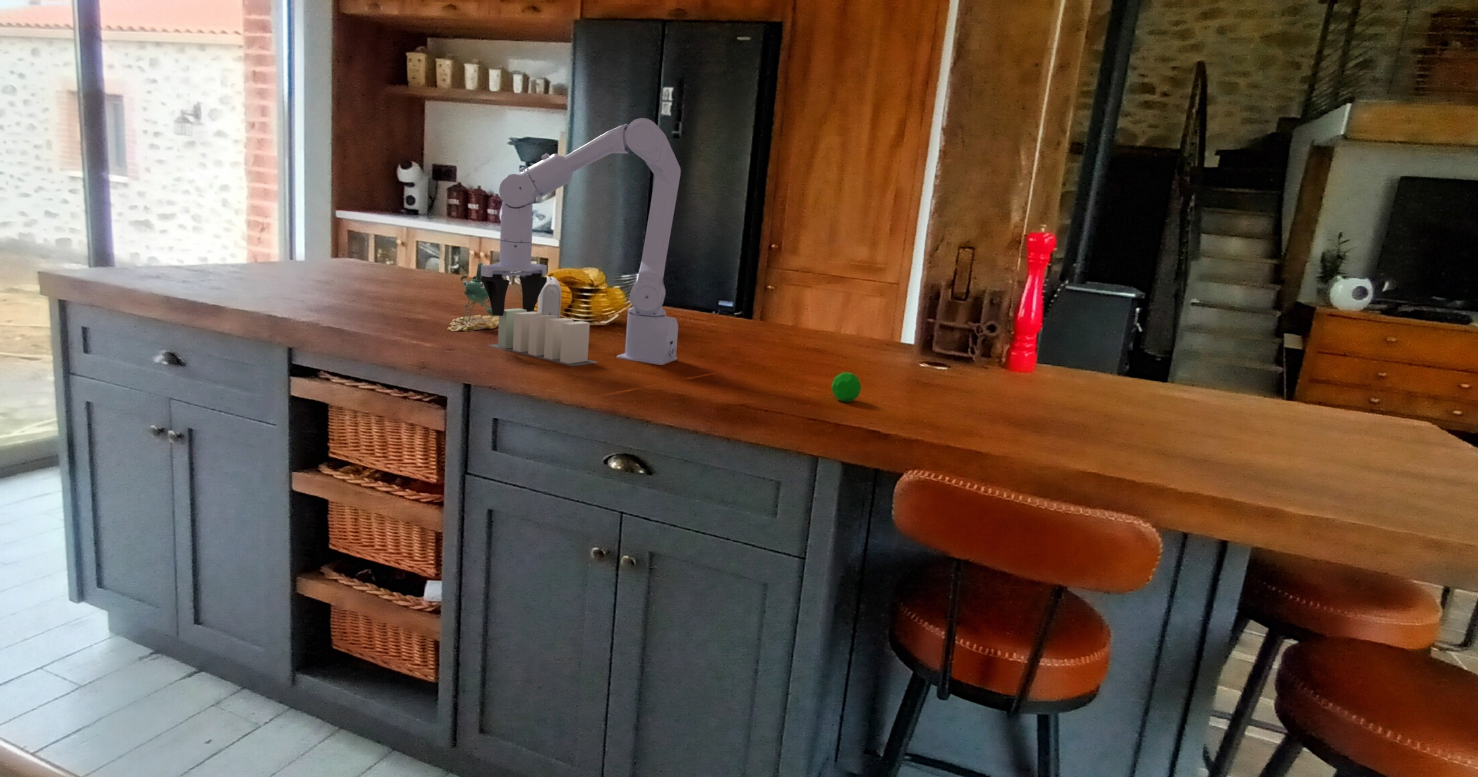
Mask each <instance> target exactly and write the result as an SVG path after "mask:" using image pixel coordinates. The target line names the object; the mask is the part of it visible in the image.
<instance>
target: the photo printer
mask: <svg viewBox="0 0 1478 777" xmlns="http://www.w3.org/2000/svg"><path fill="white" fill-rule="evenodd" d="M545 277H547V283H546V284H545V285H544V287H543V288H542V290H541V292H540V294H539V297H538V299H537V312H539V313H542V315H554V316H557V319H559V318H561V307H562V306H561V305H562V286H561V284H560V282H559V280H558V279H557V278H556V277H554V276H548V275H545Z"/></svg>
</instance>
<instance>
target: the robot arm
mask: <svg viewBox="0 0 1478 777" xmlns="http://www.w3.org/2000/svg"><path fill="white" fill-rule="evenodd" d="M628 148H629V149H630V150H631V151H632V153H634V154H635V155H637V156H638V157H639V158H641V159H642V160H643V161H644V162H645V164H646V165H647V167H648V168H649V170H651V172H652V173H653V175H654V183H653V189H652V193H651V194H652V195H651V199H650V200H651V201H650V207H649V213H648V218H647V219H648V220H647V225H646V232H645V238H644V244H643V249H642V256H641V262H640V266H639V271H638V275H637V276H638V278H637V280H636V281H635V283H634V285H633V286H632V288H631V289H630V293H629V300H630V304H631V306H632V307H630V308H627V318H626V320H627V321H626V334H625V335H626V336H625V348H624V353H622V354H618V355H616V359H621V360H626V361H634V362H640V363H646V364H652V365H658V366H659V365H660V366H663V365H666V364H669V363H671V362H673V361H677V359H678V357H677V347H678V337H679V336H678V334H679V323H678V320H677V318H676V317H672V316H668V315H666V314H667V311H666V310H665V309H664V308H663V307H662V306H663V305H664V301H665V298H666V288H665V284H664V276H665V269H666V262H667V255H668V250H669V244H670V237H671V233H672V232H671V231H672V226H673V220H674V215H675V214H674V213H675V209H676V202H677V197H678V192H679V191H678V189H679V185H680V178H681V172H682V171H681V167H680V164H679V161H678V160H677V158H676V155H675V153H674V151H673V148H672V147H671V144H670V142H669V139H668V138H667V136H666V134H665V133H664V132H663V130H662V129H661V128H660V127H659V126H658V125H657V124H656V123H655V122H654V121H653V120H651V119H649V118H644V117H640V118H637V119H634V120H632V121H631V122H630V123H629V124H627V123H625V124H622V125H619V126H617V127H615V128H611V129H610V130H607V131H606V132H604V133H603V134H600V135H599V136H597V137H595V138H594V139H592V140H590V141H589V142H588V143H586V144H584V145H582V146H581V147H579V148H577V149H575V150H573V151H571V152H570V153H568V154H567V155H561V154H558V153H553V154H551V155H550V154H549V153H545V154H543V155H542V156H541V160H540V161H538V162H536V163H534V164H532V165H530V166H528V167H523V166H522V167H521V168H519V169H518V172H519V174H517V173H511V174H508V175H507V176H506V177H505V178H504V179H503V180H501V183H500V184H499V189H498V191H499V192H498V193H499V194H498V195H499V196H500V199H501V200H502V203H501V204H502V205H501V215H500V231H499V232H500V234H499V235H500V236H499V238H500V239H499V262H497V263H494V264H483V265H481V281H482V283H483V285H484V287H485V289H486V291H487V294H488V299H489V303H490V307H491V308H492V313H493V315H497V316H503V314H504V309H505V304H506V294H507V291H508V287H509V285H510V282H511V281H510V280H509V279H506V278H504V277H509V276H510V277H513V276H514V277H518V278H519V281H520V287H521V293H522V309H525V310H527V312H535V310H536V309H535V308H536V305H537V303H538V297H539V294H540V292H541V290H542V288H543V287H544V285H545V284H546V283H547V277H546V276H547V274H548V272H547V268H548V265H545V264H540V263H539V264H538V263H537V264H535V263H534V264H532V252H533V251H532V249H533V247H532V246H533V220H534V218H533V204H534V203H535V202H536V200H537V198H541V199H542V198H543V197H545V196H547V195H548V194H550V193H553V192H554V191H556V190H558V189H559V188H562V187H563V186H565V185H567V184H569V183H571V182H572V178H573V174H574V172H576V171H579V170H581V169H583V168H585V167H586V166H588V165H590V164H592V163H594V162H597V161H599V160H600V159H603V158H605V157H607V156H609V155H610V154H627V155H628V154H629V149H628Z"/></svg>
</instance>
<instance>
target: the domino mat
mask: <svg viewBox="0 0 1478 777" xmlns="http://www.w3.org/2000/svg"><path fill="white" fill-rule="evenodd" d="M486 347H490V348H496V349H499V350H502V351H503V350H504V351H507V352H511V353H512V352H513V353H514V354H515V353H517V354H520V355H524V356H528V357H532V358H536V359H540V360H543V361H549V362H553V363H557V364H561V365H565V366H570V367H579V366H585V365H591V364H599V363H600V361H596V360H592V359H588V360H587V361H583V362H576V363H569V364H568V363H564V362H560V359H553V360H551V359H547V358H544V355H538V356H535V355H531V354H528V351H525V352H518V351H514V350H513V347H512V348H502V347H498V343H496V344H495V343H494V344H486Z"/></svg>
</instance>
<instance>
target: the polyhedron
mask: <svg viewBox="0 0 1478 777" xmlns="http://www.w3.org/2000/svg"><path fill="white" fill-rule="evenodd" d="M831 390H832V393H833V396H834V397H835V398H836V399H837V400H839V401H840V402H843V401H844V403H845V402H847V403H849V402H852V401H854V400H856V399H857V398H858V397H859V396H860V393H861V390H862V385H861V382H860V379H859V378H858V376H856V375H855V374H854V373H851V372H841V373H839V374H838V375H836V376H835V377H834V378H833V380H832V384H831Z"/></svg>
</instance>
